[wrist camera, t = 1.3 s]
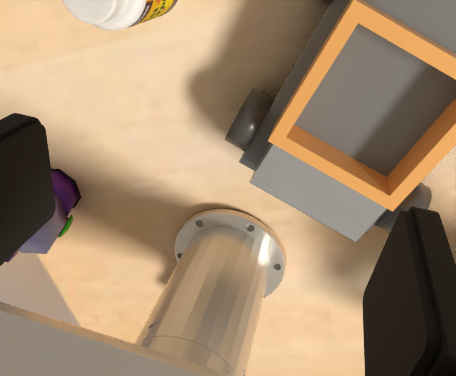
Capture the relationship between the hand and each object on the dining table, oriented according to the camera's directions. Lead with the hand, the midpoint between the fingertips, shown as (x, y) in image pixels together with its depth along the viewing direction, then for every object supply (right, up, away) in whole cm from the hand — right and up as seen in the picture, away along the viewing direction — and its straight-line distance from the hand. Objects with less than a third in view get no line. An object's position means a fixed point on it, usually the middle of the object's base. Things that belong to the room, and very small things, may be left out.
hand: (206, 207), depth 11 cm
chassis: (+12, +9, +23) cm, 27 cm away
